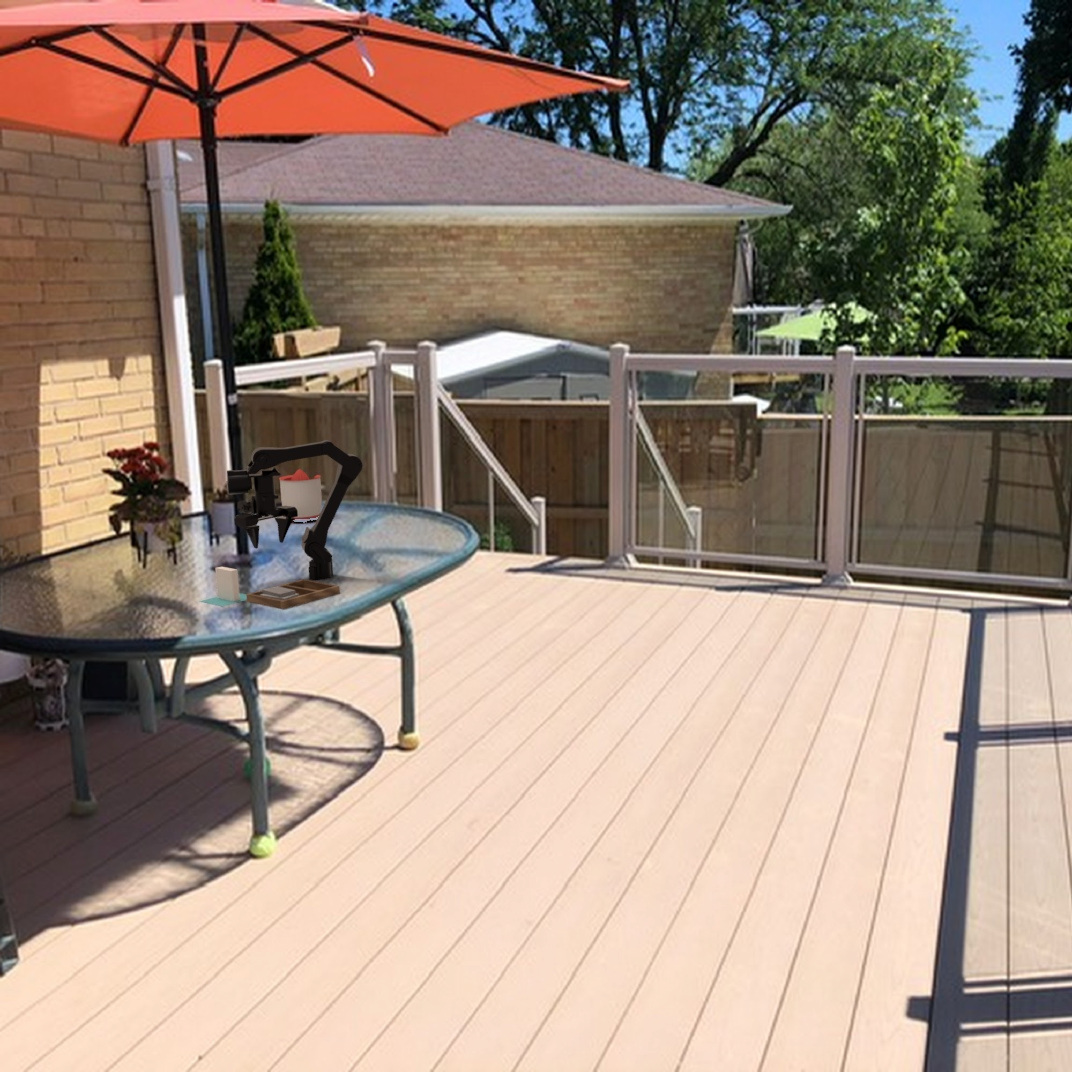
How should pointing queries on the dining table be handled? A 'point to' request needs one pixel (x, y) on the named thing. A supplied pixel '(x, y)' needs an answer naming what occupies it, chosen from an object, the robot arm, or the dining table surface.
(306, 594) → the wooden divided tray
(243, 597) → the mat
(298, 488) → the citrus juicer
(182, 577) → the dining table surface
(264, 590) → the offcut stack
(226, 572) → the beige rectangular block
